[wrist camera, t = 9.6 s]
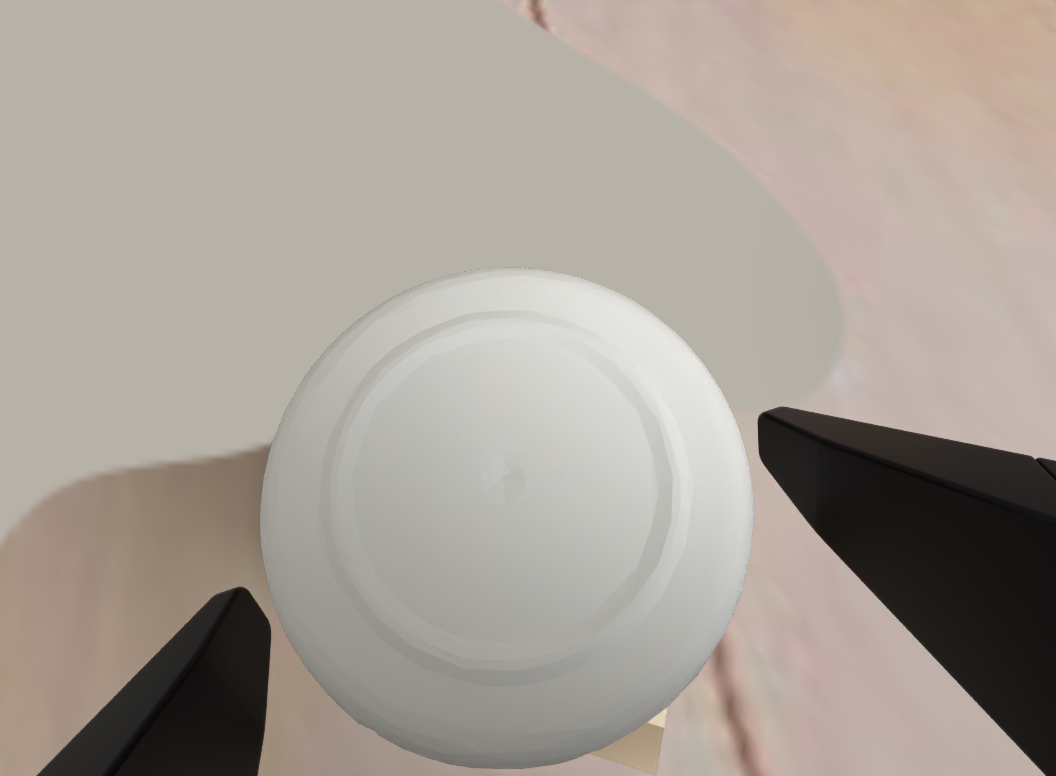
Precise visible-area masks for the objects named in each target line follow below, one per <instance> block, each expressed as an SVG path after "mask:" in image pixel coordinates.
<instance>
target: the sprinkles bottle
mask: <svg viewBox="0 0 1056 776" xmlns="http://www.w3.org/2000/svg"><path fill="white" fill-rule="evenodd" d="M752 532H753V496H752V484H751V478H750V472H749V466H748V461H747V457H746V453H745V450H744V446H743V442H742V439H741V436H740V432H739V429H738V426H737V423H736V420H735V418H734V416H733V414H732V412H731V410H730V407H729V405H728V403H727V402H726V400H725V398H724V396H723V394H722V392H721V390H720V389H719V387H718V385H717V384H716V382H715V381H714V379H713V378H712V376H711V375H710V373H709V372H708V370H707V369H706V367H705V366H704V365H703V363H702V361H701V360H700V359H699V358H698V357H697V356H696V355H695V353H694V352H693V351H692V350H691V349H690V347H689V346H688V345H687V344H686V343H685V342H684V340H682V338H680V337H679V336H678V335H677V334H676V333H675V332H674V331H673V330H672V329H671V328H669V327H668V326H667V325H666V324H664V323H663V322H662V321H661V320H659V319H658V318H657V317H656V316H655V315H653V314H652V313H651V312H649V311H648V310H646V309H645V308H643V307H642V306H640V305H639V304H637V303H636V302H634V301H633V300H631V299H629V298H627V297H625V296H623V295H621V294H619V293H618V292H616V291H613V290H611V289H609V288H607V287H604V286H602V285H599V284H596V283H594V282H591V281H588V280H586V279H583V278H579V277H576V276H572V275H568V274H564V273H560V272H554V271H548V270H542V269H532V268H518V267H507V268H486V269H476V270H471V271H464V272H461V273H457V274H452V275H448V276H444V277H441V278H438V279H435V280H432V281H429V282H426V283H423V284H420V285H418V286H416V287H413V288H411V289H409V290H406V291H404V292H402V293H400V294H398V295H397V296H395V297H393V298H391V299H389V300H387V301H386V302H384V303H382V304H381V305H379V306H378V307H376V308H375V309H373V310H371V311H370V312H369V313H367V314H366V315H364V316H363V317H362V318H360V319H359V320H358V321H357V322H355V323H354V324H353V325H352V326H351V327H349V328H348V329H347V330H346V331H345V332H344V333H342V334H341V336H339V337H338V338H337V339H336V340H335V341H334V342H333V343H332V344H331V345H330V346H329V347H328V348H327V349H326V350H325V352H324V353H323V354H322V355H321V357H320V358H319V359H318V360H317V362H316V363H315V364H314V365H313V367H312V368H311V369H310V371H309V372H308V373H307V375H306V376H305V377H304V379H303V381H302V382H301V384H300V386H299V388H298V389H297V391H296V393H295V395H294V396H293V398H292V400H291V402H290V403H289V405H288V407H287V409H286V410H285V412H284V415H283V417H282V420H281V423H280V425H279V427H278V430H277V432H276V435H275V438H274V440H273V443H272V445H271V449H270V453H269V457H268V461H267V465H266V469H265V473H264V480H263V488H262V496H261V510H260V539H261V549H262V557H263V562H264V567H265V572H266V577H267V582H268V587H269V591H270V594H271V597H272V600H273V603H274V606H275V609H276V612H277V615H278V618H279V620H280V622H281V625H282V627H283V629H284V631H285V633H286V635H287V638H288V639H289V641H290V643H291V644H292V646H293V648H294V649H295V651H296V653H297V654H298V656H299V658H300V659H301V661H302V663H303V664H304V666H305V667H306V668H307V670H308V671H309V672H310V673H311V674H312V676H313V677H314V678H315V679H316V680H317V682H318V683H319V684H320V685H321V686H322V688H323V689H324V690H325V691H326V692H327V694H328V695H329V696H330V697H331V698H332V699H333V700H334V701H335V702H336V703H337V704H338V705H339V706H340V707H341V708H342V709H343V710H344V711H345V712H347V713H348V714H349V715H350V716H351V717H352V718H353V719H354V720H356V721H357V722H358V723H359V724H361V725H364V726H366V727H368V728H370V729H372V730H374V731H375V732H376V733H377V734H378V735H380V736H381V737H383V738H385V739H386V740H388V741H390V742H392V743H394V744H396V745H397V746H399V747H401V748H403V749H405V750H408V751H411V752H413V753H416V754H419V755H421V756H424V757H427V758H429V759H433V760H437V761H440V762H444V763H447V764H452V765H458V766H464V767H470V768H491V769H524V768H531V767H539V766H547V765H554V764H559V763H563V762H566V761H569V760H573V759H576V758H578V757H581V756H583V755H585V754H588V753H590V752H593V751H597V750H601V749H603V748H604V747H606V746H608V745H610V744H612V743H614V742H615V741H617V740H619V739H621V738H623V737H625V736H626V735H628V734H630V733H632V732H634V731H635V730H637V729H639V728H640V727H642V726H643V725H644V724H646V723H647V722H648V721H650V720H651V719H652V718H653V717H655V716H656V715H657V714H659V713H660V712H661V711H663V710H664V709H665V708H667V707H668V706H669V705H670V704H671V703H672V702H673V701H674V700H675V699H676V698H677V697H678V696H679V694H680V693H681V692H682V691H683V690H684V689H685V688H686V687H687V686H688V685H689V684H690V683H691V682H692V681H693V679H694V678H695V677H696V676H697V675H698V674H699V672H700V670H701V669H702V667H703V666H704V664H705V663H706V661H707V660H708V658H709V657H710V655H711V654H712V652H713V651H714V649H715V648H716V646H717V645H718V643H719V642H720V640H721V639H722V637H723V636H724V634H725V632H726V629H727V627H728V625H729V623H730V621H731V619H732V617H733V614H734V611H735V608H736V605H737V603H738V600H739V598H740V595H741V592H742V588H743V584H744V580H745V576H746V572H747V567H748V561H749V556H750V550H751V541H752Z"/></svg>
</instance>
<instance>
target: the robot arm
mask: <svg viewBox="0 0 1056 776" xmlns="http://www.w3.org/2000/svg"><path fill="white" fill-rule="evenodd" d="M758 446H759V455H760V458H761V461H762V462H763V464H764V466H765V467H766V468H767V470H768V471H769V472H770V474H771V475H772V476H773V478H774V479H775V480H776V481H777V483H778V484H779V485H780V487H781V488H782V489H783V491H784V492H785V493H786V494H787V496H788V497H789V498H790V500H791V501H792V502H793V504H794V505H795V506H796V508H797V509H798V510H799V511H800V513H801V514H802V515H803V517H804V518H805V519H806V521H807V522H808V523H809V524H810V525H811V527H812V528H813V529H814V530H815V532H816V533H817V534H818V535H819V536H820V537H821V538H822V539H823V540H824V542H825V543H826V544H827V545H828V546H829V547H830V548H831V549H832V550H833V551H834V552H835V553H836V554H837V555H838V556H839V557H840V559H841V560H842V561H843V562H844V563H845V564H846V565H847V566H848V567H849V568H850V569H851V570H852V571H853V572H854V573H855V574H856V575H857V577H858V578H859V579H860V580H861V581H862V582H863V583H864V584H865V585H866V586H867V587H868V588H869V589H870V590H871V591H872V592H873V593H874V595H875V596H876V597H877V598H878V599H879V600H880V601H881V602H882V603H883V604H884V605H885V606H886V607H887V608H888V609H889V610H890V611H891V612H892V614H893V615H894V616H895V617H896V618H897V619H898V620H899V621H900V622H901V623H902V624H903V625H904V626H905V627H906V628H907V629H908V630H909V632H910V633H911V634H912V635H913V636H914V637H915V638H916V639H917V640H918V641H919V642H920V643H921V644H922V645H923V646H924V647H925V648H926V649H927V651H928V652H929V653H930V654H931V655H932V656H933V657H934V658H935V659H936V660H937V661H938V662H939V663H940V664H941V665H942V666H943V667H944V669H945V670H946V671H947V672H948V673H949V674H950V675H951V676H952V677H953V678H954V679H955V680H956V681H957V682H958V683H959V684H960V685H961V686H962V688H963V689H964V690H965V691H966V692H967V693H968V694H969V695H970V696H971V697H972V698H973V699H974V700H975V701H976V702H977V703H978V704H979V706H980V707H981V708H982V709H983V710H984V711H985V712H986V713H987V714H988V715H989V716H990V717H991V718H992V719H993V720H994V721H995V722H996V724H997V725H998V726H999V727H1000V728H1001V729H1002V730H1003V731H1004V732H1005V733H1006V734H1007V735H1008V736H1009V737H1010V738H1011V739H1012V740H1013V741H1014V743H1015V744H1016V745H1017V746H1018V747H1019V748H1020V749H1021V750H1022V751H1023V752H1024V753H1025V754H1026V755H1027V756H1028V757H1029V758H1030V759H1031V761H1032V762H1033V763H1034V764H1035V765H1036V766H1037V767H1038V768H1039V769H1040V770H1041V771H1042V772H1043V773H1044V774H1045V775H1046V776H1056V461H1054V460H1049V459H1044V458H1037V459H1034V458H1033V457H1032V456H1029V455H1024V454H1019V453H1013V452H1008V451H1003V450H998V449H993V448H988V447H983V446H978V445H973V444H968V443H963V442H958V441H953V440H948V439H943V438H938V437H933V436H928V435H923V434H918V433H913V432H908V431H903V430H898V429H893V428H888V427H883V426H878V425H873V424H868V423H863V422H858V421H854V420H849V419H844V418H839V417H834V416H829V415H824V414H819V413H814V412H809V411H804V410H799V409H794V408H789V407H777V408H774V409H771V410H768V411H765V412H763V413H761V414H760V415H759V418H758ZM270 647H271V627H270V623H269V621H268V619H267V617H266V616H265V614H264V613H263V611H262V610H261V608H260V607H259V605H258V604H257V602H256V601H255V599H254V598H253V596H252V595H251V593H250V592H249V591H248V590H247V589H246V588H244V587H236V588H233V589H230V590H227V591H224V592H221V593H219V594H216V595H215V596H213V597H212V598H211V599H210V600H209V601H208V602H207V603H206V604H205V605H204V606H203V607H202V608H201V609H200V610H199V611H198V612H197V613H196V614H195V615H194V616H193V617H192V618H191V619H190V620H189V621H188V623H187V624H186V625H185V626H184V627H183V628H182V629H181V630H180V631H179V632H178V633H177V634H176V635H175V636H174V637H173V638H172V639H171V640H170V641H169V642H168V643H167V644H166V645H165V646H164V647H163V648H162V649H161V650H160V651H159V652H158V653H157V654H156V655H155V656H154V657H153V658H152V659H151V660H150V661H149V662H148V663H147V664H146V665H145V666H144V667H143V668H142V669H141V670H140V671H139V672H138V673H137V674H136V675H135V676H134V677H133V678H132V679H131V680H130V681H129V682H128V683H127V684H126V685H125V686H124V687H123V688H122V689H121V690H120V692H119V693H118V694H117V695H116V696H115V697H114V698H113V699H112V700H111V701H110V702H109V703H108V704H107V705H106V706H105V707H104V708H103V709H102V710H101V711H100V712H99V713H98V714H97V715H96V716H95V717H94V718H93V719H92V720H91V721H90V722H89V723H88V724H87V725H86V726H85V727H84V728H83V729H82V730H81V731H80V732H79V733H78V734H77V735H76V736H75V737H74V738H73V739H72V740H71V741H70V742H69V743H68V744H67V745H66V746H65V747H64V748H63V749H62V750H61V751H60V752H59V753H58V754H57V755H56V756H55V757H54V758H53V759H52V761H51V762H50V763H49V764H48V765H47V766H46V767H45V768H44V769H43V770H42V771H41V772H40V773H39V774H38V775H37V776H257V775H258V769H259V763H260V757H261V751H262V745H263V738H264V732H265V722H266V709H267V694H268V678H269V662H270Z"/></svg>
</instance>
